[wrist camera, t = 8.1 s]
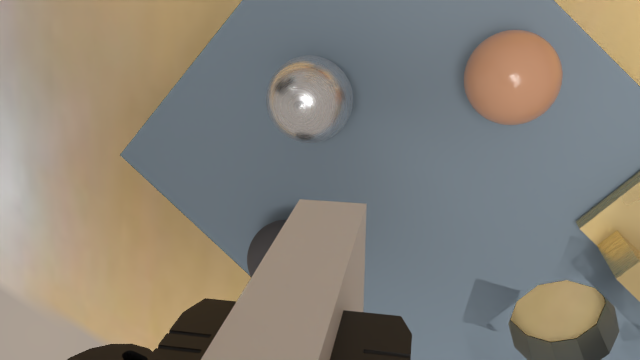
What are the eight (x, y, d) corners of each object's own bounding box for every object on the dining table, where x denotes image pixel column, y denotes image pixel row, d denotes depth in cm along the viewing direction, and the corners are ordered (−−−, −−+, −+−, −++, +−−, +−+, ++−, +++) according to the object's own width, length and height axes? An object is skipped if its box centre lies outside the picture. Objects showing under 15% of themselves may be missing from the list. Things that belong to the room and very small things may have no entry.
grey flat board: (145, 142, 31) (119, 154, 28) (386, -158, 24) (380, -174, 22) (525, 497, 32) (531, 536, 30) (846, 301, 26) (885, 332, 24)
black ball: (246, 241, 28) (219, 273, 25) (293, 193, 27) (271, 220, 24) (299, 290, 29) (279, 329, 25) (348, 245, 27) (334, 279, 24)
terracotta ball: (444, 73, 24) (443, 86, 21) (510, 7, 23) (520, 10, 20) (505, 132, 24) (513, 154, 21) (573, 70, 23) (594, 83, 20)
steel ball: (263, 93, 26) (236, 107, 23) (315, 33, 25) (295, 39, 22) (321, 148, 26) (302, 170, 23) (375, 92, 25) (364, 106, 22)
